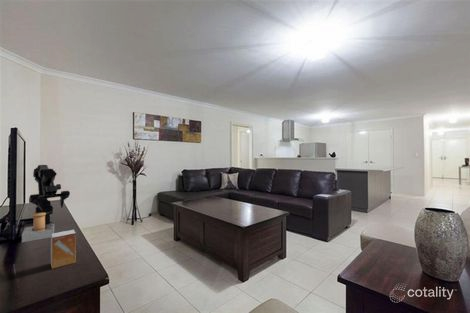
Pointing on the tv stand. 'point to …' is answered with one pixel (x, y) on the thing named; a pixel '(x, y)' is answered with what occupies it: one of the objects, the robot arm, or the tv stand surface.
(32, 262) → the tv stand surface
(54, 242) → the small box
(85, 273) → the tv stand surface
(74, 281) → the tv stand surface
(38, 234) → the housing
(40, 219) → the plug
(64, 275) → the tv stand surface
